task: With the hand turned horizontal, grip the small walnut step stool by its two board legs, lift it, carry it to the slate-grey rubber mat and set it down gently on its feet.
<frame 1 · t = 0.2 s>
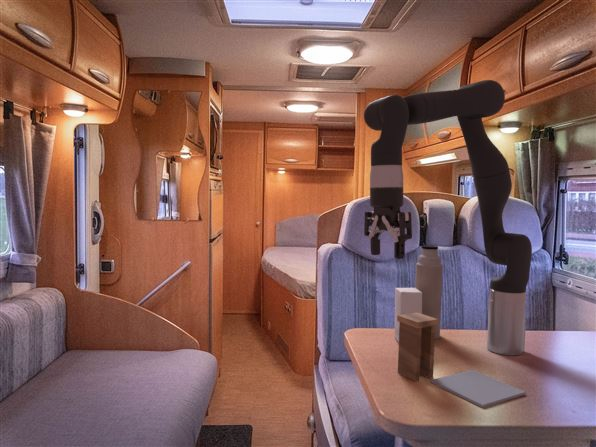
hand: (386, 256, 103), 29 cm above the table, tool pointing down, fingers open, 8 cm apart
thermos bottle: (426, 335, 140), on the table
skincare box: (406, 342, 133), on the table
mat: (476, 388, 101), on the table
stool: (415, 374, 108), on the table
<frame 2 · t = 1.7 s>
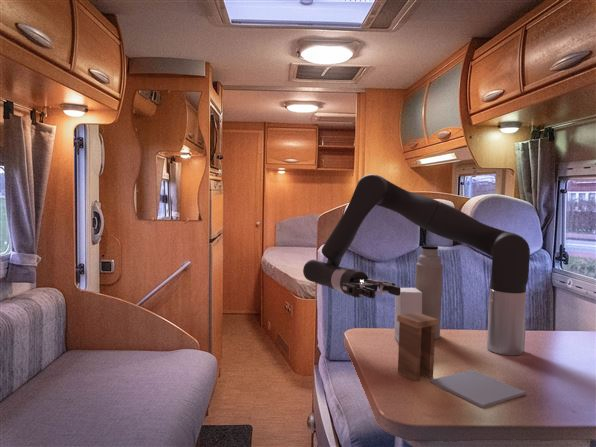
hand: (386, 293, 116), 18 cm above the table, tool horizontal, fingers open, 8 cm apart
nothing on the table moved.
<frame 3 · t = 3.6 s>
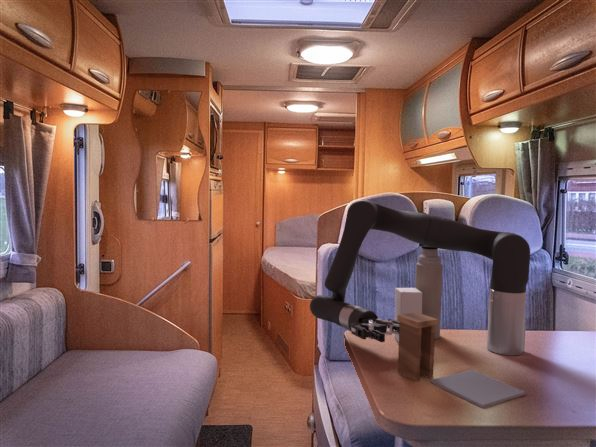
hand: (397, 336, 113), 7 cm above the table, tool horizontal, fingers open, 8 cm apart
nothing on the table moved.
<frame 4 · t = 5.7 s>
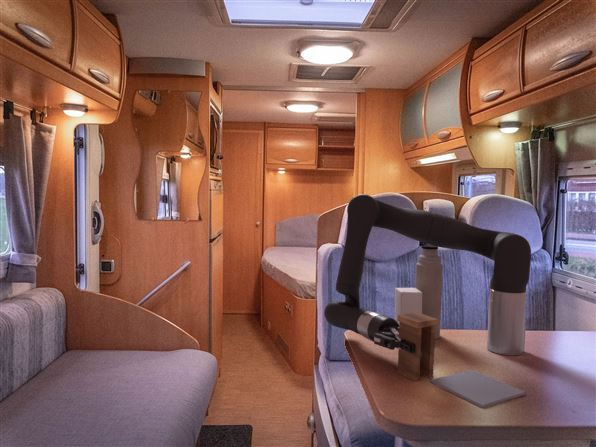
hand: (424, 347, 105), 8 cm above the table, tool horizontal, fingers closed on stool, 5 cm apart
stool: (415, 374, 108), on the table, touching gripper
everything else where it was.
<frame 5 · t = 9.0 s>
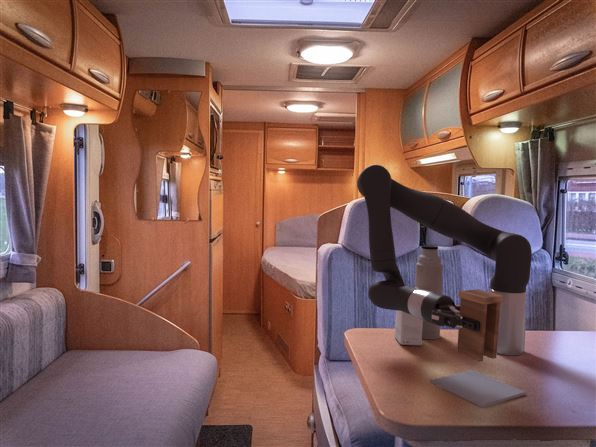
hand: (488, 325, 98), 15 cm above the table, tool horizontal, fingers closed on stool, 5 cm apart
stool: (476, 355, 100), point 8 cm above the table, touching gripper
everything else where it was.
when the fingers open (9 cm above the table, at t = 10.7 s): stool stays where it is, resting on mat.
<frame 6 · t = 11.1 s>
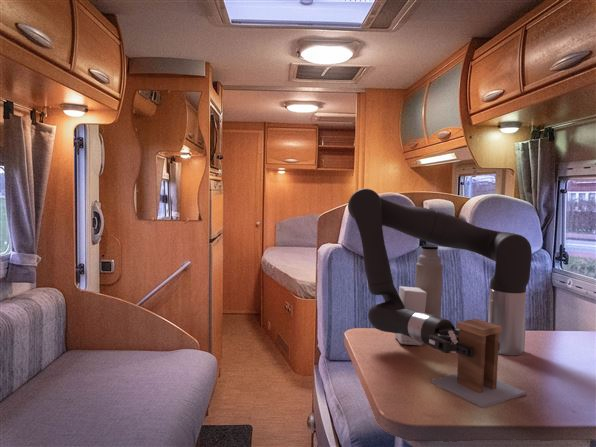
hand: (486, 350, 98), 9 cm above the table, tool horizontal, fingers open, 8 cm apart
skincare box: (406, 341, 133), on the table, touching arm
stool: (476, 385, 101), point 1 cm above the table, touching mat
everything else where it was.
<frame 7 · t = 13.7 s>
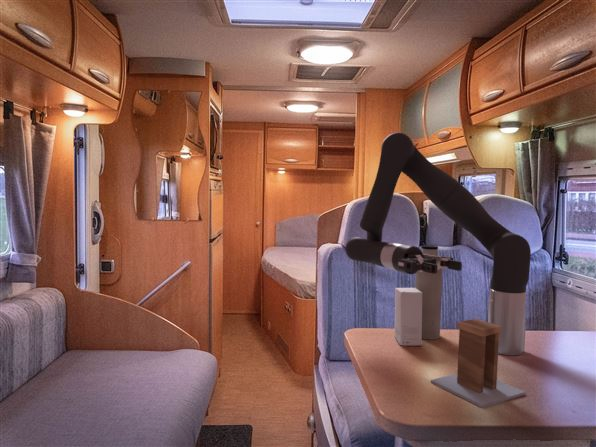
hand: (448, 267, 108), 26 cm above the table, tool horizontal, fingers open, 8 cm apart
skincare box: (406, 342, 133), on the table
everything else where it was.
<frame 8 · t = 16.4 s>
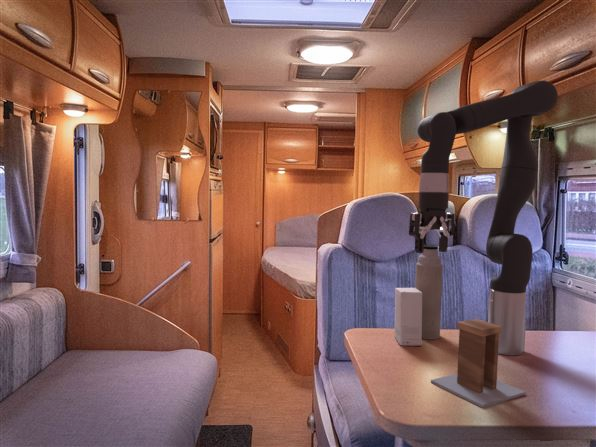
hand: (431, 252, 119), 28 cm above the table, tool pointing down, fingers open, 8 cm apart
nothing on the table moved.
at the end: stool inside the target area on the mat (0.1 cm from its centre), point 0.6 cm above the mat's base; stool tilted 0°; the gripper is holding nothing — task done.
